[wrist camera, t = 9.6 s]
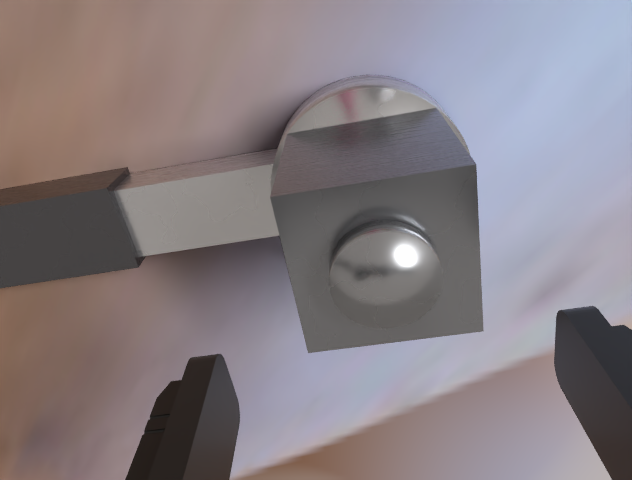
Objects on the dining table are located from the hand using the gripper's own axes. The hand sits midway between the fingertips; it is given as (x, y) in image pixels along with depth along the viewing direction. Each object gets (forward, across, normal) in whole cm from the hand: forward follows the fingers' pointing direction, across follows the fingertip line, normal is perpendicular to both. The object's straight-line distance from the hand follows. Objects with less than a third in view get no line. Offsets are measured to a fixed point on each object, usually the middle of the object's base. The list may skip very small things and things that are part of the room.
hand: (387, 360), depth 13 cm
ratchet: (+12, +8, 0) cm, 14 cm away
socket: (+9, 0, 0) cm, 9 cm away
